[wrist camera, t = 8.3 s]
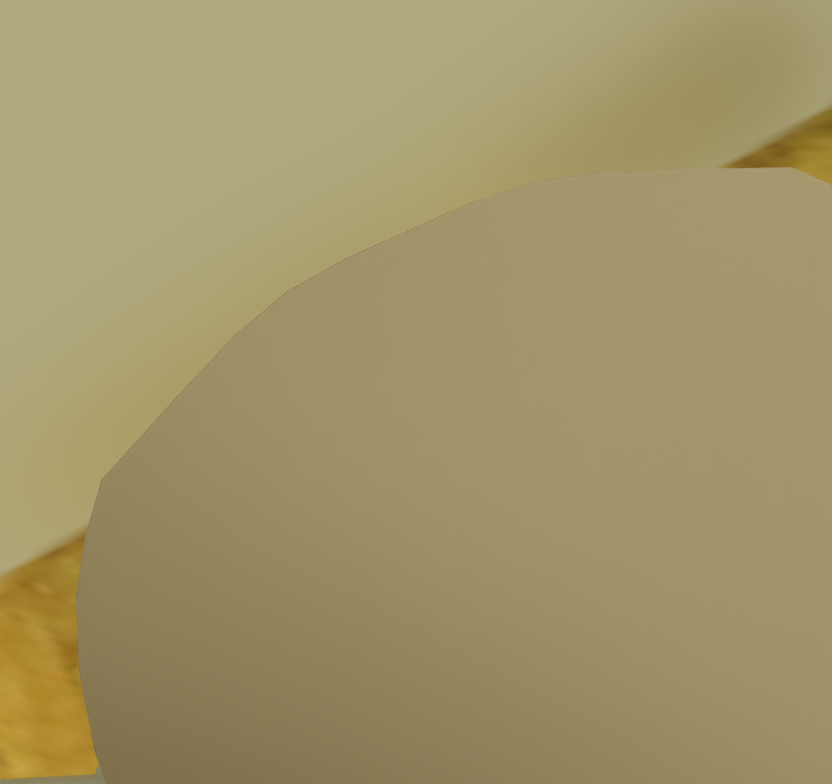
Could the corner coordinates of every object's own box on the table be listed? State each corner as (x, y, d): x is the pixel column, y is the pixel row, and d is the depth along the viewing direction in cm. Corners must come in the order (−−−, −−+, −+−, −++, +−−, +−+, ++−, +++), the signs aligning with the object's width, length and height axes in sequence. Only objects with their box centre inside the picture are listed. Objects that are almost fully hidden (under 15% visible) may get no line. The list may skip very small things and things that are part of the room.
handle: (650, 606, 18) (1281, 697, 4) (427, 710, 18) (221, 1212, 4) (564, 442, 20) (798, 56, 5) (357, 538, 19) (1, 412, 5)
